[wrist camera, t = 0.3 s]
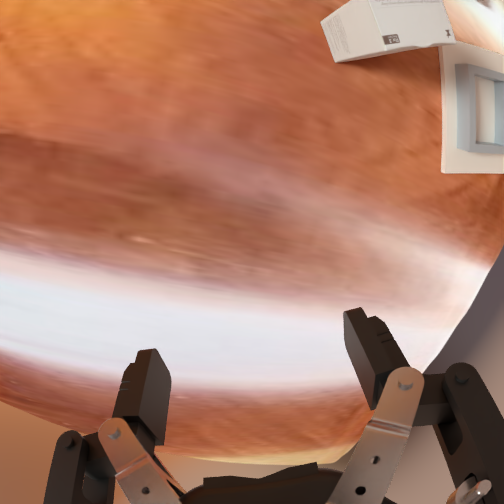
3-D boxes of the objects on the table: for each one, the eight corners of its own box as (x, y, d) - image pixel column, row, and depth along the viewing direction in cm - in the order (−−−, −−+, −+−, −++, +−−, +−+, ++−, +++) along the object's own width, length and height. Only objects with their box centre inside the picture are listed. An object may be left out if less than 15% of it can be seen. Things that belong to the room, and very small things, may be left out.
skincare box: (375, 13, 29) (440, -15, 16) (389, 55, 32) (462, 44, 19) (315, 22, 30) (363, -15, 17) (332, 66, 33) (388, 52, 19)
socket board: (436, 37, 30) (453, 34, 27) (500, 55, 30) (516, 55, 27) (440, 171, 39) (456, 179, 36) (500, 171, 39) (515, 178, 36)
